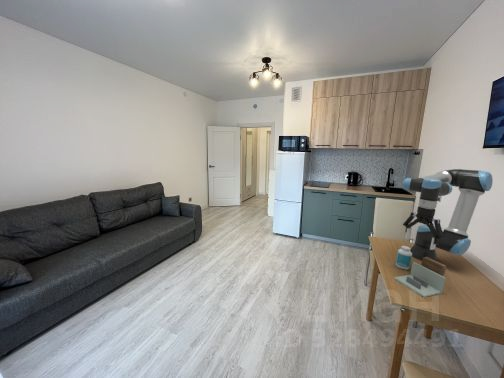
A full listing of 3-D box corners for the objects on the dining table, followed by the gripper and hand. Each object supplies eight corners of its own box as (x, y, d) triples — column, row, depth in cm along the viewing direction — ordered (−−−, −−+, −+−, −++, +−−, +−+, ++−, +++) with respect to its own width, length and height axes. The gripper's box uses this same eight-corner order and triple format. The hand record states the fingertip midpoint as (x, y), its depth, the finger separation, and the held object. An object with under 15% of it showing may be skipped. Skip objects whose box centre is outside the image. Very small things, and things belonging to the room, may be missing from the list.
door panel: (422, 275, 127) (426, 256, 125) (441, 285, 118) (446, 265, 116) (418, 275, 126) (423, 257, 124) (437, 286, 117) (442, 266, 115)
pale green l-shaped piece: (411, 275, 126) (414, 261, 124) (442, 293, 111) (446, 277, 109) (394, 278, 121) (397, 264, 120) (423, 297, 106) (427, 281, 105)
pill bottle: (411, 271, 131) (415, 250, 129) (398, 269, 132) (402, 249, 130) (405, 264, 138) (409, 245, 136) (393, 263, 140) (396, 244, 137)
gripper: (399, 201, 125) (393, 235, 129) (448, 214, 102) (439, 255, 106) (409, 201, 128) (403, 234, 132) (459, 213, 104) (449, 253, 108)
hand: (419, 243), depth 119 cm, fingers open, 13 cm apart
